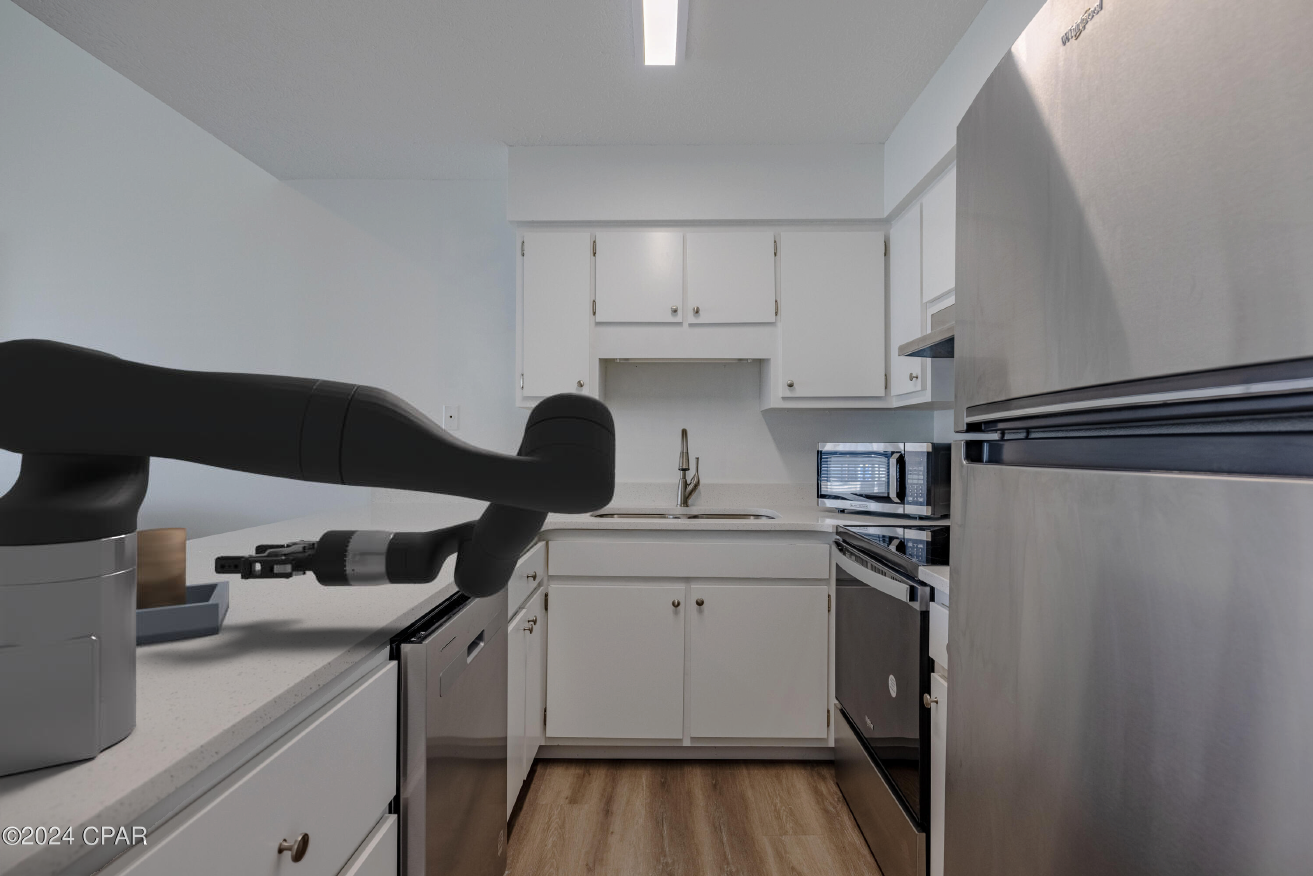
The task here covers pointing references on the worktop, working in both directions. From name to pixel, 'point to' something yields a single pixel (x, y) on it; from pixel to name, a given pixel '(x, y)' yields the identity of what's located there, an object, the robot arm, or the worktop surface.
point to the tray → (186, 615)
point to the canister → (161, 568)
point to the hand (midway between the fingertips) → (237, 558)
